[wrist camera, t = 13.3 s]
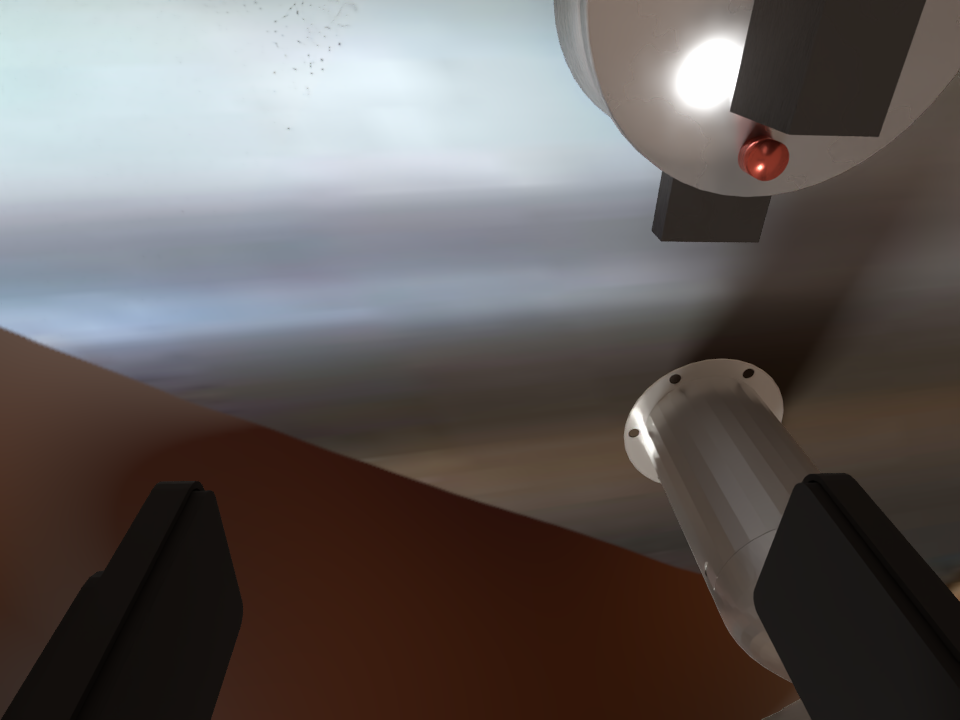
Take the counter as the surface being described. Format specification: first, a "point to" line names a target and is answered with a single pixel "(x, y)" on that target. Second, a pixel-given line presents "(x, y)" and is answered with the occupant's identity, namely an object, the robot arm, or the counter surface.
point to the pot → (678, 204)
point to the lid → (767, 83)
